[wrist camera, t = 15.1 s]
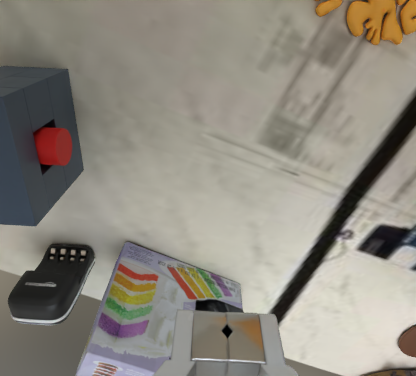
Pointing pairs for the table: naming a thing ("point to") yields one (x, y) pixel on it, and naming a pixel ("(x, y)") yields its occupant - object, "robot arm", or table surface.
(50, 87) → the control box
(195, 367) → the robot arm
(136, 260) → the cake pan box
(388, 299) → the table surface
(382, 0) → the coral
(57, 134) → the button
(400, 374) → the flintlock pistol
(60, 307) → the battery charger
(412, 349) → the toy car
